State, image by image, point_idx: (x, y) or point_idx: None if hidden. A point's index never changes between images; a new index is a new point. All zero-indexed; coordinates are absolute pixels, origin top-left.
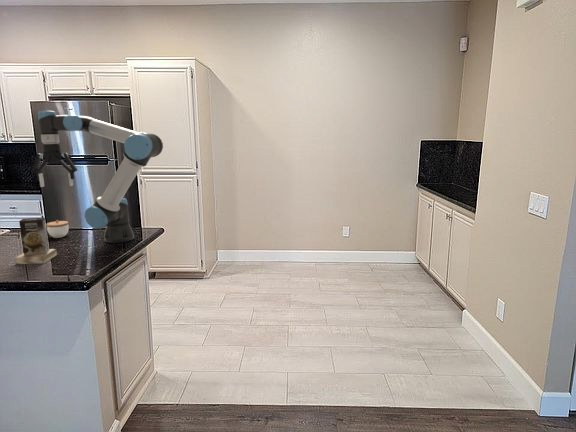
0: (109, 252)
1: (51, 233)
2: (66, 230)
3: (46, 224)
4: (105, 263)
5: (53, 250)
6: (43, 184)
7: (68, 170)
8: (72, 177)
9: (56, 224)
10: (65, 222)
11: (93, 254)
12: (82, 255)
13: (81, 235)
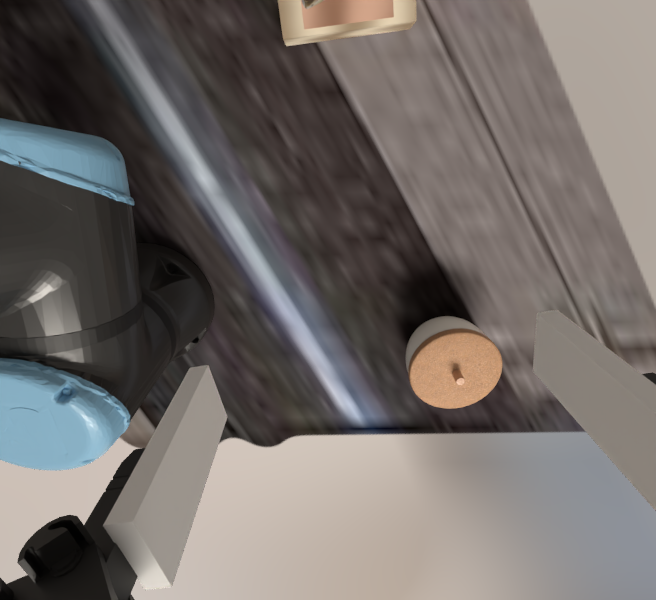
0: (60, 94)
1: (457, 317)
2: (406, 349)
3: (496, 348)
4: None
5: (280, 5)
6: (549, 370)
7: (91, 591)
8: (125, 471)
9: (444, 344)
10: (420, 380)
11: (113, 58)
12: (156, 38)
13: (351, 352)
